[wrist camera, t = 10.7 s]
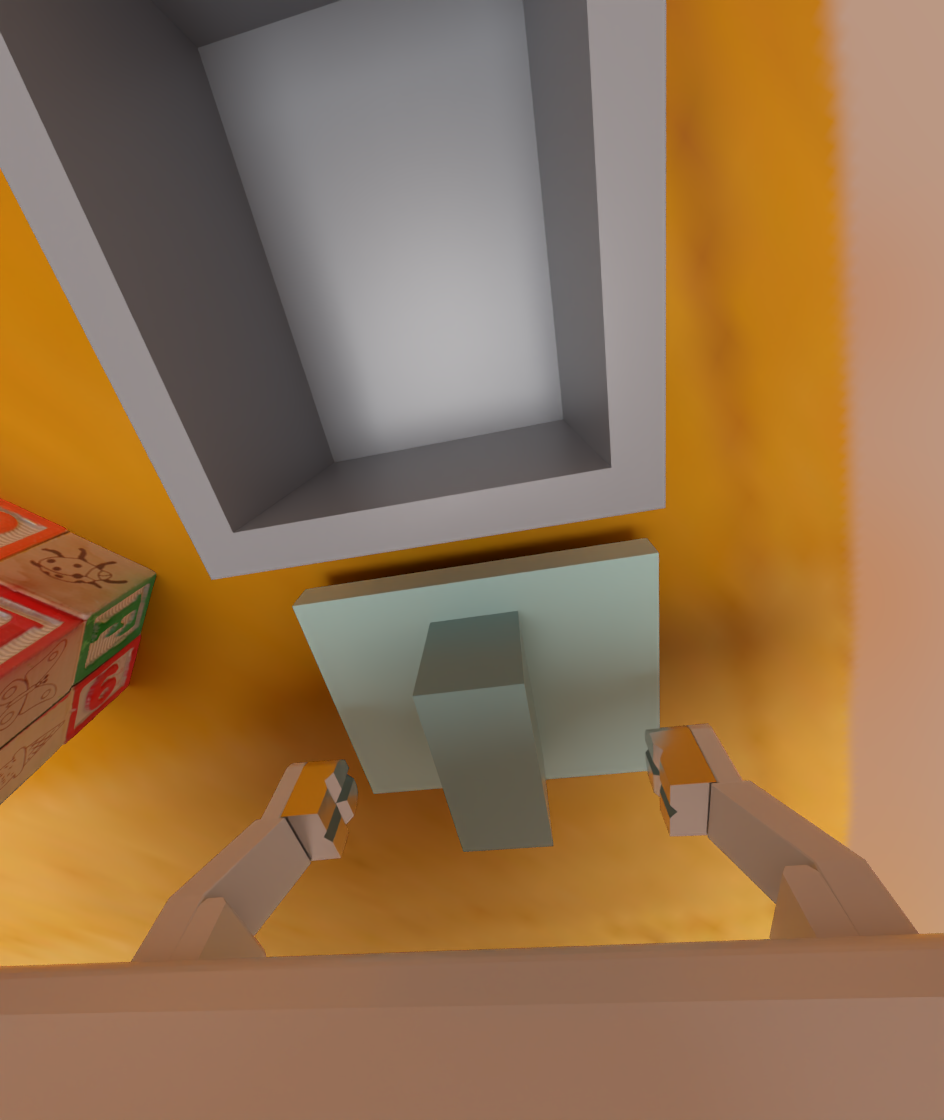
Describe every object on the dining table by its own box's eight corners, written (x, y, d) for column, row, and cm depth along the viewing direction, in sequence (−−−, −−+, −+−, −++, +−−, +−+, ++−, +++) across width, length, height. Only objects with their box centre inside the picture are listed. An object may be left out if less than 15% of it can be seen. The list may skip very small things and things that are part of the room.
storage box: (590, 438, 12) (665, 507, 7) (327, 486, 13) (212, 579, 8) (551, -100, 8) (666, -1027, 3) (169, 30, 9) (-314, -445, 4)
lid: (634, 522, 13) (709, 615, 9) (640, 720, 17) (696, 862, 12) (319, 571, 15) (236, 675, 10) (387, 745, 18) (349, 882, 13)
